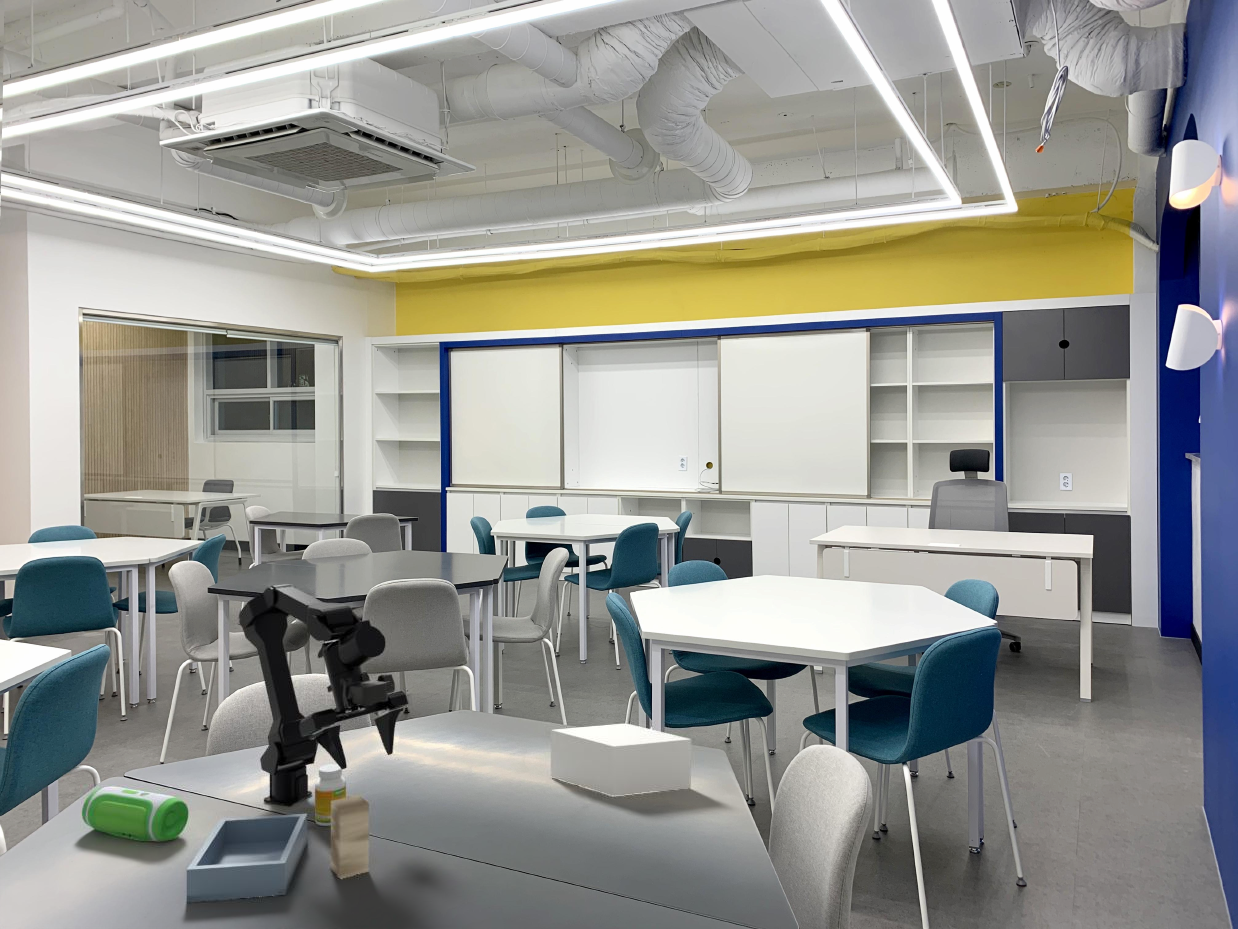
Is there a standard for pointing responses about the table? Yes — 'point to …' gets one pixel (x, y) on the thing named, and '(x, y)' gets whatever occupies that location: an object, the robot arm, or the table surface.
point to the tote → (247, 858)
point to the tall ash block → (349, 836)
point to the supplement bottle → (328, 792)
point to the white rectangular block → (621, 759)
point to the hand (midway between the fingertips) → (368, 761)
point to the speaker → (135, 814)
